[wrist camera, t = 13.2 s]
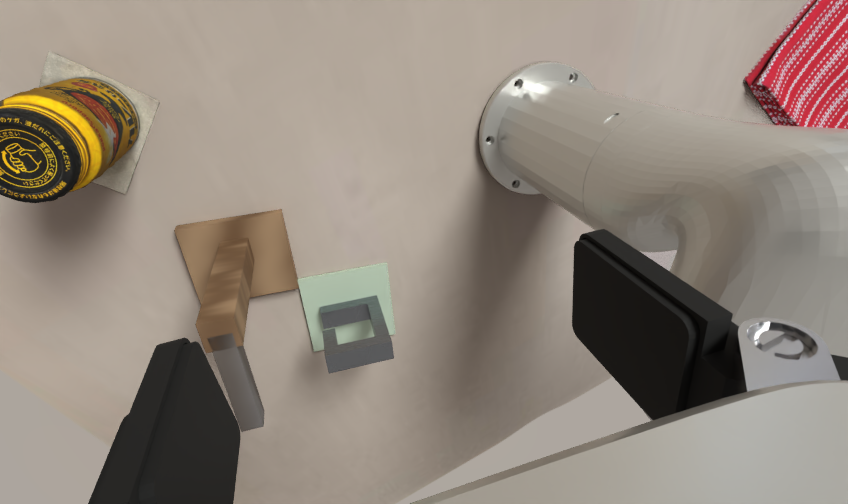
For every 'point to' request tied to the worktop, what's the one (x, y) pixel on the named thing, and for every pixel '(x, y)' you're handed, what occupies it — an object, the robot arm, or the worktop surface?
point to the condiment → (71, 133)
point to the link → (360, 349)
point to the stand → (236, 292)
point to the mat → (345, 289)
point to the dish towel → (807, 69)
